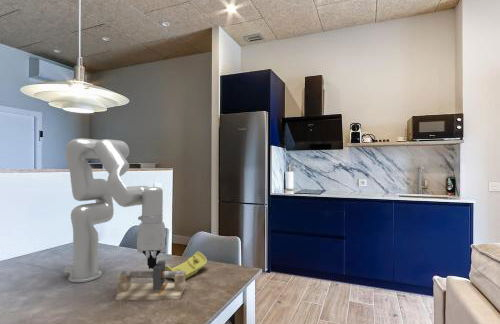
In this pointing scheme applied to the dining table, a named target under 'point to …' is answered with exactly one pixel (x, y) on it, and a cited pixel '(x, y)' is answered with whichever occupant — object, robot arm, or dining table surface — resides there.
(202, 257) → the plastic component
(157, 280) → the collar
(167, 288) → the pipe stand
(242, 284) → the dining table surface
